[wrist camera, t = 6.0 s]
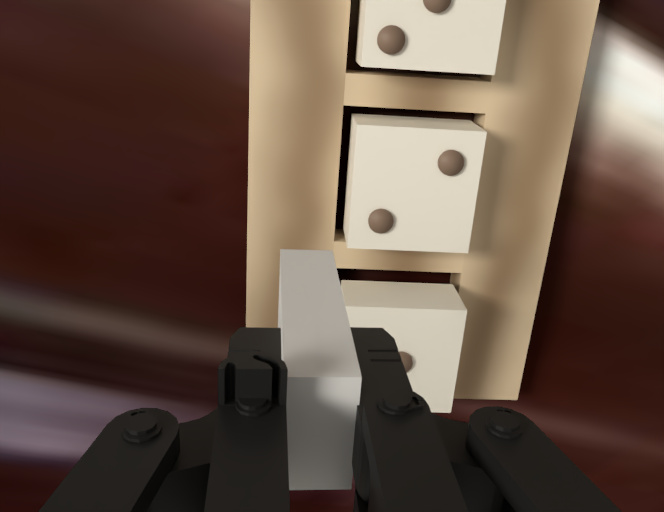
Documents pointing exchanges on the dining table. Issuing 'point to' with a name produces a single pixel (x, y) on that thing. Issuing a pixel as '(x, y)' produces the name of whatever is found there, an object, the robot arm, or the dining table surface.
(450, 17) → the three pip tile
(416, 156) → the two pip tile
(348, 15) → the button board
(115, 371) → the dining table surface
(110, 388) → the dining table surface
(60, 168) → the dining table surface
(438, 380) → the one pip tile
